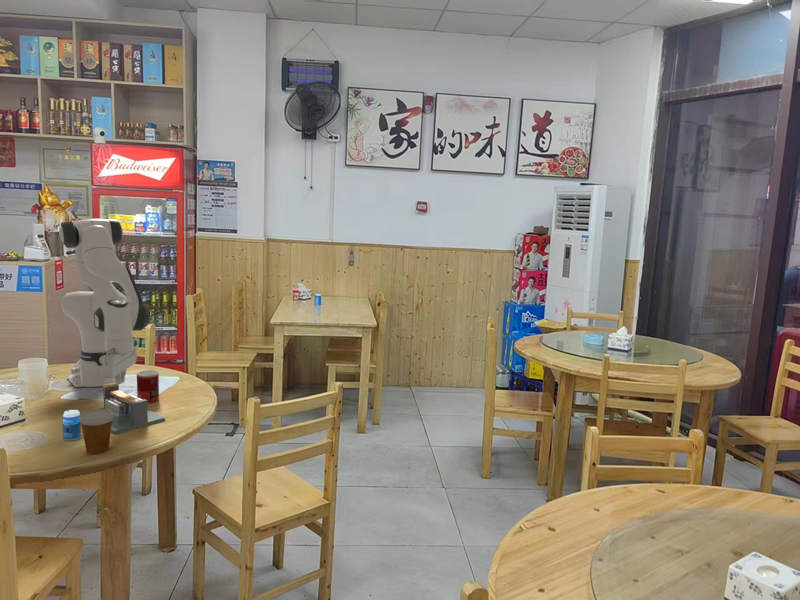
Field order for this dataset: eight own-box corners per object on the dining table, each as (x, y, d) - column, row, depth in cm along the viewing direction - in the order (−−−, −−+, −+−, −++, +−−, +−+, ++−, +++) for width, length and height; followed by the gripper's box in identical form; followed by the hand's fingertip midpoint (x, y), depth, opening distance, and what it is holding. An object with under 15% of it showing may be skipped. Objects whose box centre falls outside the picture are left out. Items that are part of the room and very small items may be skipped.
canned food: (154, 403, 228) (153, 376, 226) (133, 402, 228) (132, 375, 226) (162, 397, 236) (161, 371, 234) (142, 396, 236) (142, 369, 234)
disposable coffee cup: (111, 455, 181) (110, 418, 180) (77, 457, 179) (75, 420, 177) (117, 443, 190) (116, 407, 189) (84, 445, 188) (82, 409, 186)
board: (82, 415, 212) (81, 387, 211) (130, 404, 226) (130, 377, 225) (115, 433, 198) (114, 403, 196) (165, 420, 212) (164, 391, 210)
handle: (109, 395, 214) (109, 391, 214) (117, 393, 216) (117, 389, 216) (133, 407, 204) (133, 403, 204) (141, 405, 206) (141, 401, 206)
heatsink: (104, 416, 210) (103, 399, 210) (131, 409, 218) (131, 393, 217) (118, 423, 204) (117, 406, 204) (145, 416, 212) (145, 400, 211)
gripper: (114, 353, 199) (116, 392, 201) (139, 339, 219) (140, 375, 222) (95, 352, 199) (97, 391, 201) (122, 338, 219) (123, 374, 221)
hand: (120, 382), depth 212 cm, fingers closed
